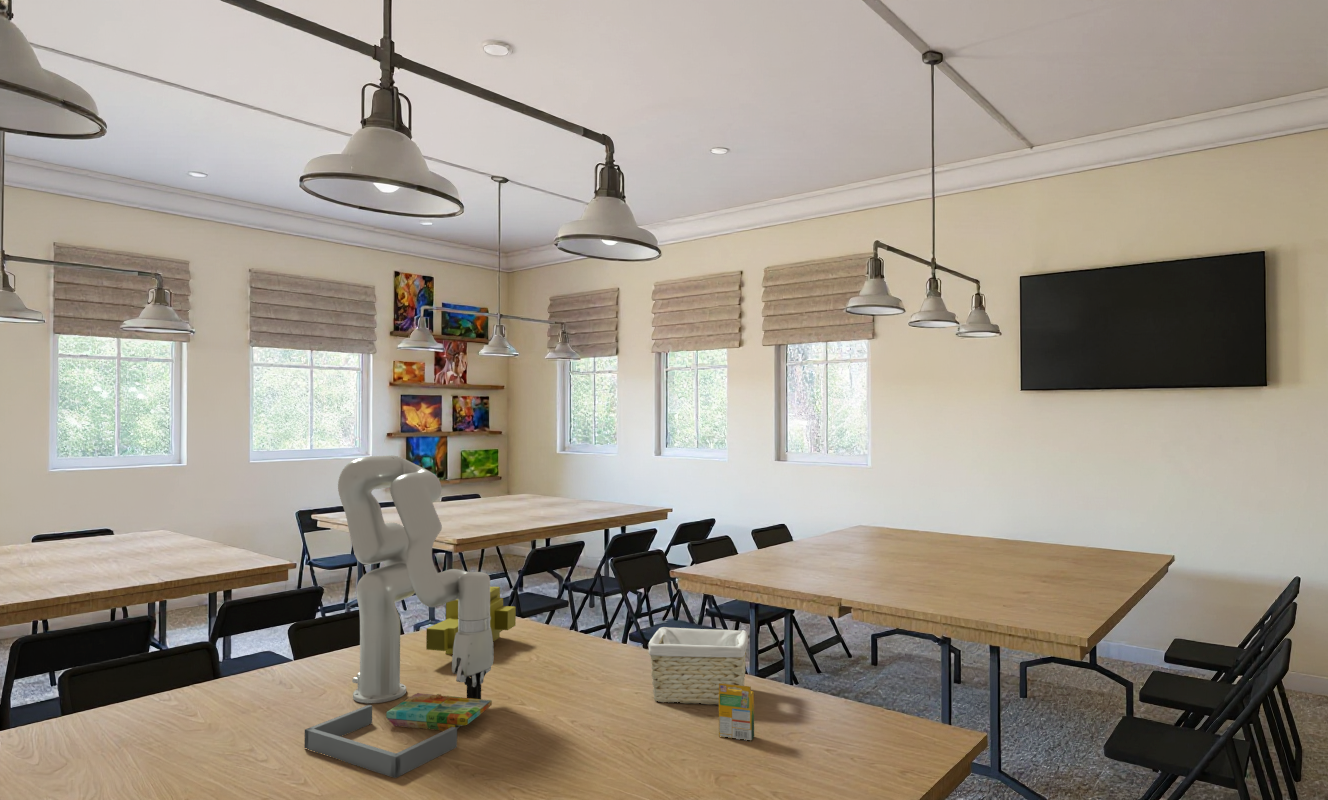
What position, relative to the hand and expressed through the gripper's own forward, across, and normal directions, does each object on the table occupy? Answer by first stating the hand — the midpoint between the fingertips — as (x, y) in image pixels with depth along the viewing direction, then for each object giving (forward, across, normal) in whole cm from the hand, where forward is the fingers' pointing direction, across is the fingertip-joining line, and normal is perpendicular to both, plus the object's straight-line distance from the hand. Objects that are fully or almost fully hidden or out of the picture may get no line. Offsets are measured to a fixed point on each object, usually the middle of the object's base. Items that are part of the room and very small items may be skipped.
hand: (473, 701), depth 184 cm
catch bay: (+1, +27, 0) cm, 27 cm away
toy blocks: (+1, -34, -31) cm, 46 cm away
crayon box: (+2, -14, +63) cm, 65 cm away
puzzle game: (+2, +11, 0) cm, 11 cm away
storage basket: (+2, -33, +44) cm, 55 cm away
